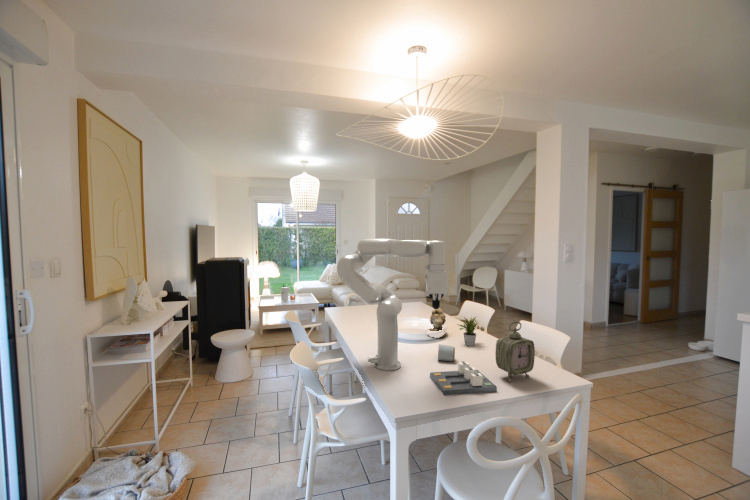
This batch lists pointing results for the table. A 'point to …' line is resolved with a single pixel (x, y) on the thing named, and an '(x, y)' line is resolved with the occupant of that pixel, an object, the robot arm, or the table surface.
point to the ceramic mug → (446, 353)
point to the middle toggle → (468, 372)
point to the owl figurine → (437, 320)
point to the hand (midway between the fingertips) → (435, 308)
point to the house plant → (469, 332)
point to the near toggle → (476, 379)
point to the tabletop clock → (515, 354)
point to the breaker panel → (459, 383)
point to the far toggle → (462, 366)
